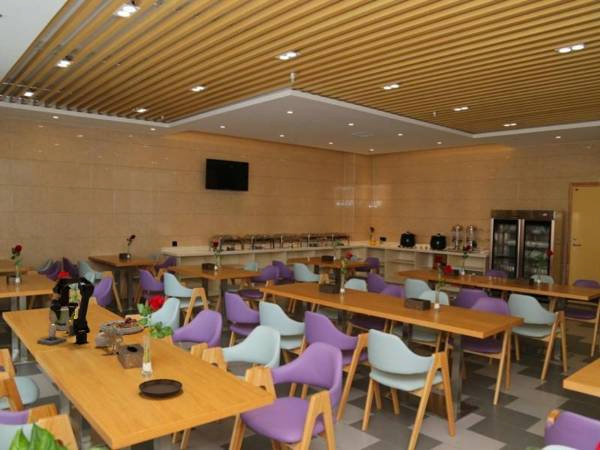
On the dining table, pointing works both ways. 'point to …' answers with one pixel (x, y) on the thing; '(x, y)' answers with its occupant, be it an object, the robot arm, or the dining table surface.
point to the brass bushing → (68, 326)
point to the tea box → (63, 319)
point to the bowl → (122, 326)
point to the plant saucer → (160, 387)
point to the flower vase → (109, 339)
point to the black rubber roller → (71, 330)
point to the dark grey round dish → (47, 342)
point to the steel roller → (52, 332)
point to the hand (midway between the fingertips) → (64, 318)
